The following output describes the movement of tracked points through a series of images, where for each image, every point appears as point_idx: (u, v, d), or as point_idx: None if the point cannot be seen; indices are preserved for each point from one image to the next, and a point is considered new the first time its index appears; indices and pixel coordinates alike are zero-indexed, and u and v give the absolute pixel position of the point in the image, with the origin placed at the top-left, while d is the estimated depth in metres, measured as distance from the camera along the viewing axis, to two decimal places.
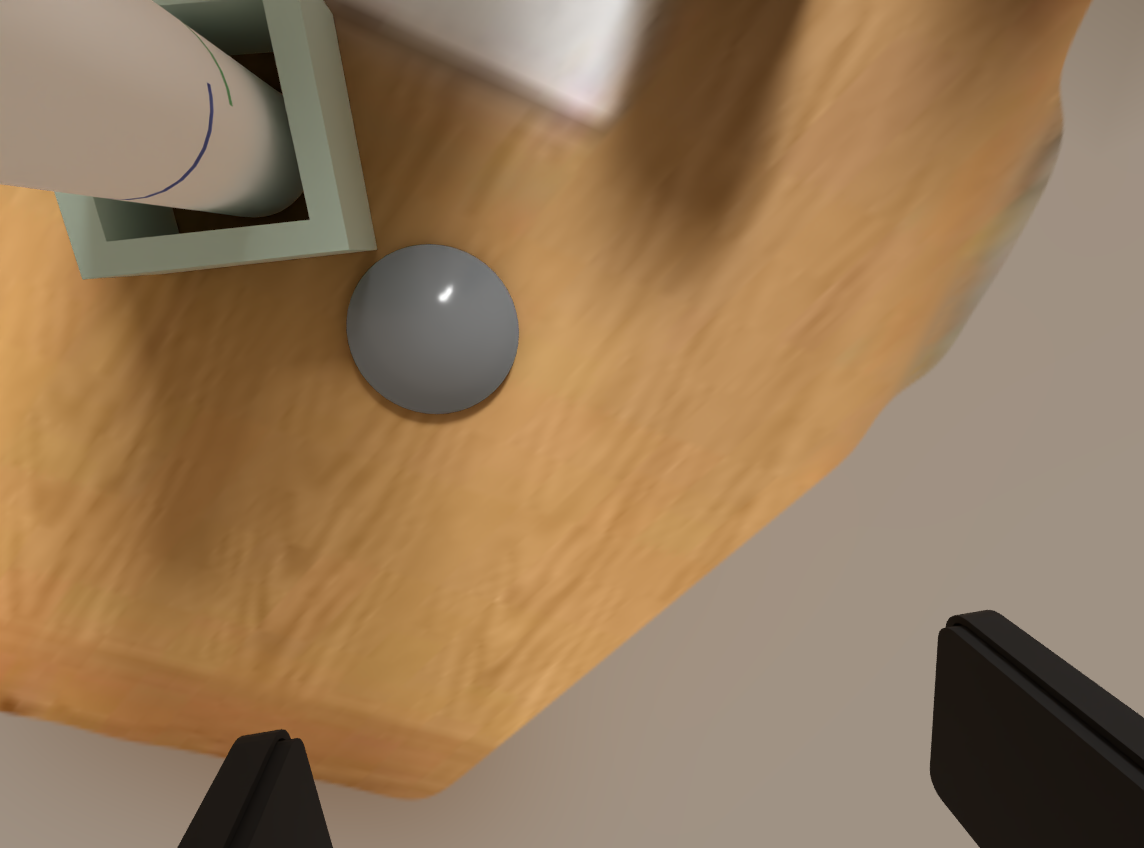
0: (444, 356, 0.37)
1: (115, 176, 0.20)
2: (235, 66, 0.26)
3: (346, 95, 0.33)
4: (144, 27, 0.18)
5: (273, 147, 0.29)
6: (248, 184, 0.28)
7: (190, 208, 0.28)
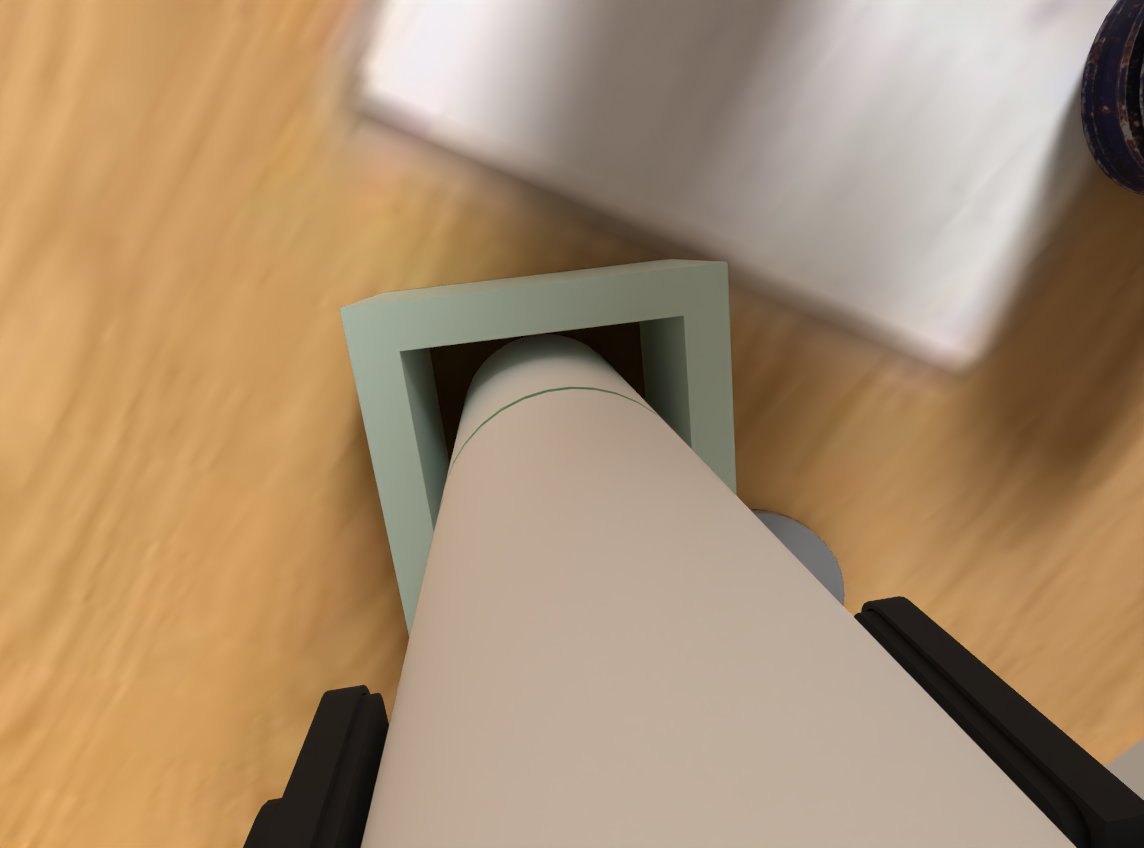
0: None
1: None
2: None
3: None
4: None
5: None
6: None
7: None
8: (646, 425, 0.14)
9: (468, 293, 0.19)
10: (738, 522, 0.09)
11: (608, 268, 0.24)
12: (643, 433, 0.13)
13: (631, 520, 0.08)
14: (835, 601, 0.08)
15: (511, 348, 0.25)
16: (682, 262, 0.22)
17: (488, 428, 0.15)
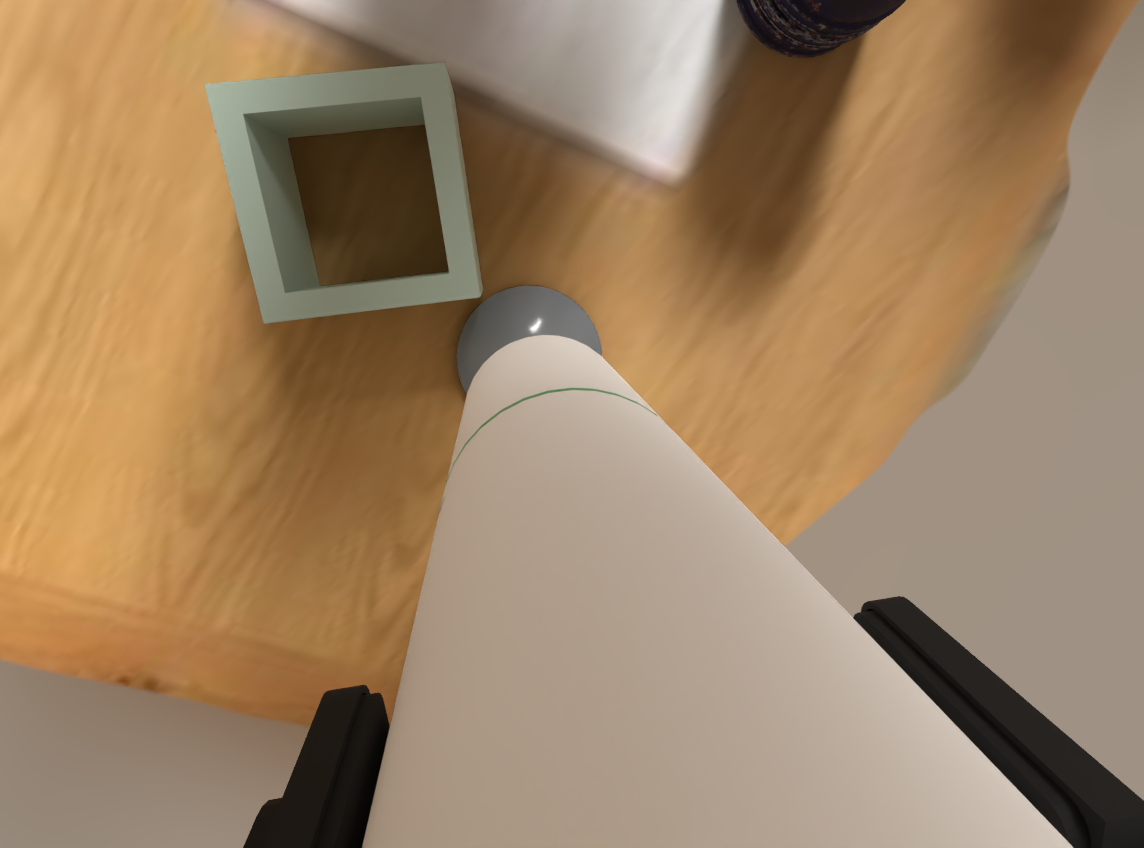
0: None
1: None
2: None
3: None
4: None
5: None
6: None
7: None
8: (647, 426, 0.13)
9: (283, 77, 0.32)
10: (739, 524, 0.09)
11: None
12: (644, 434, 0.13)
13: (632, 522, 0.08)
14: (836, 604, 0.08)
15: (511, 349, 0.25)
16: None
17: (488, 429, 0.15)
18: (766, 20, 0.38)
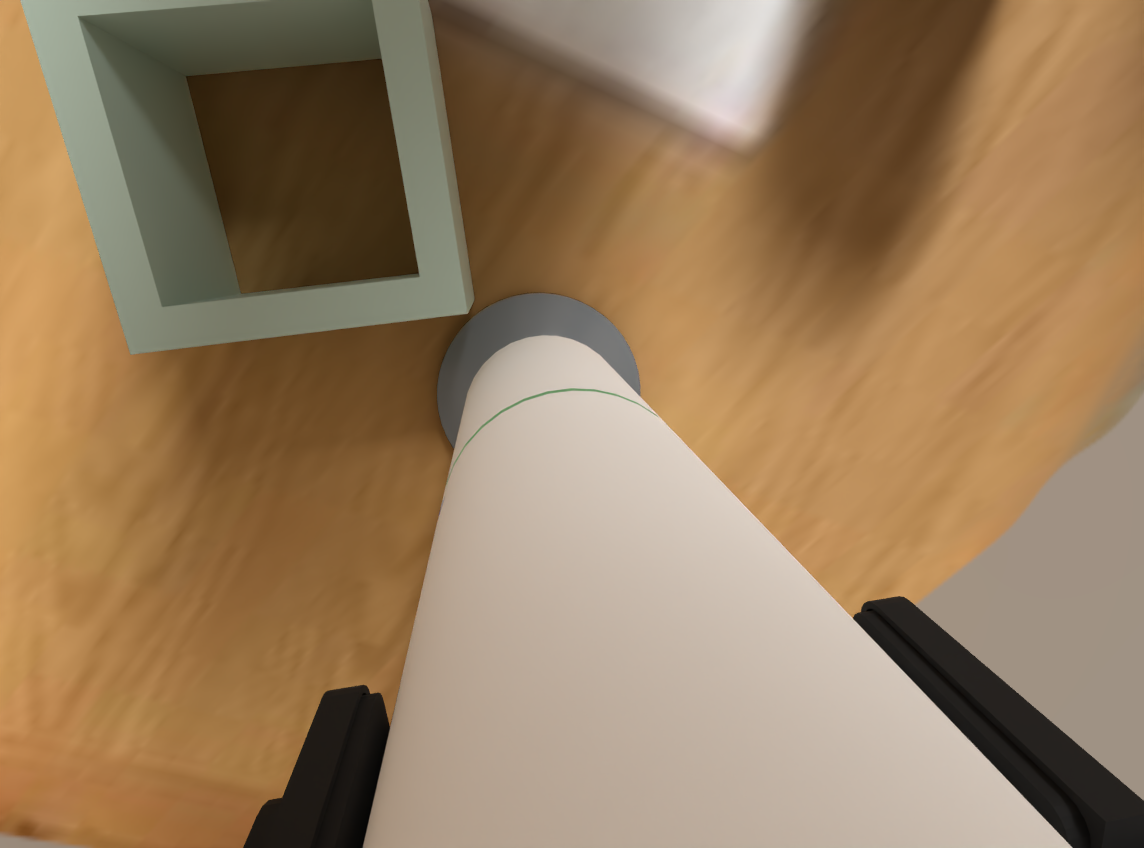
0: None
1: None
2: None
3: (446, 114, 0.27)
4: None
5: None
6: None
7: None
8: (647, 427, 0.13)
9: None
10: (739, 525, 0.09)
11: None
12: (644, 435, 0.13)
13: (632, 523, 0.08)
14: (836, 605, 0.08)
15: (511, 349, 0.25)
16: None
17: (489, 430, 0.15)
18: None
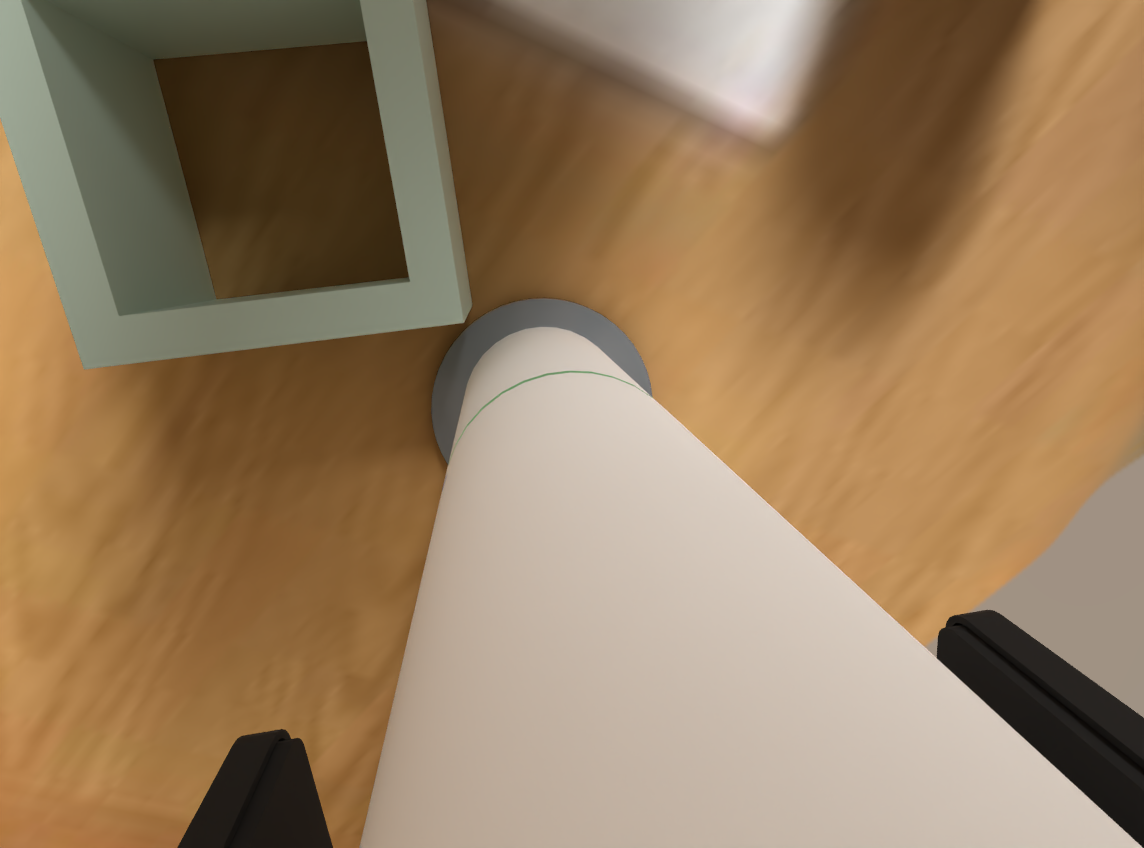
0: None
1: None
2: None
3: (441, 102, 0.25)
4: None
5: None
6: None
7: None
8: (642, 403, 0.14)
9: None
10: (728, 483, 0.10)
11: None
12: (639, 409, 0.13)
13: (627, 478, 0.09)
14: (818, 550, 0.08)
15: (511, 339, 0.25)
16: None
17: (490, 409, 0.16)
18: None
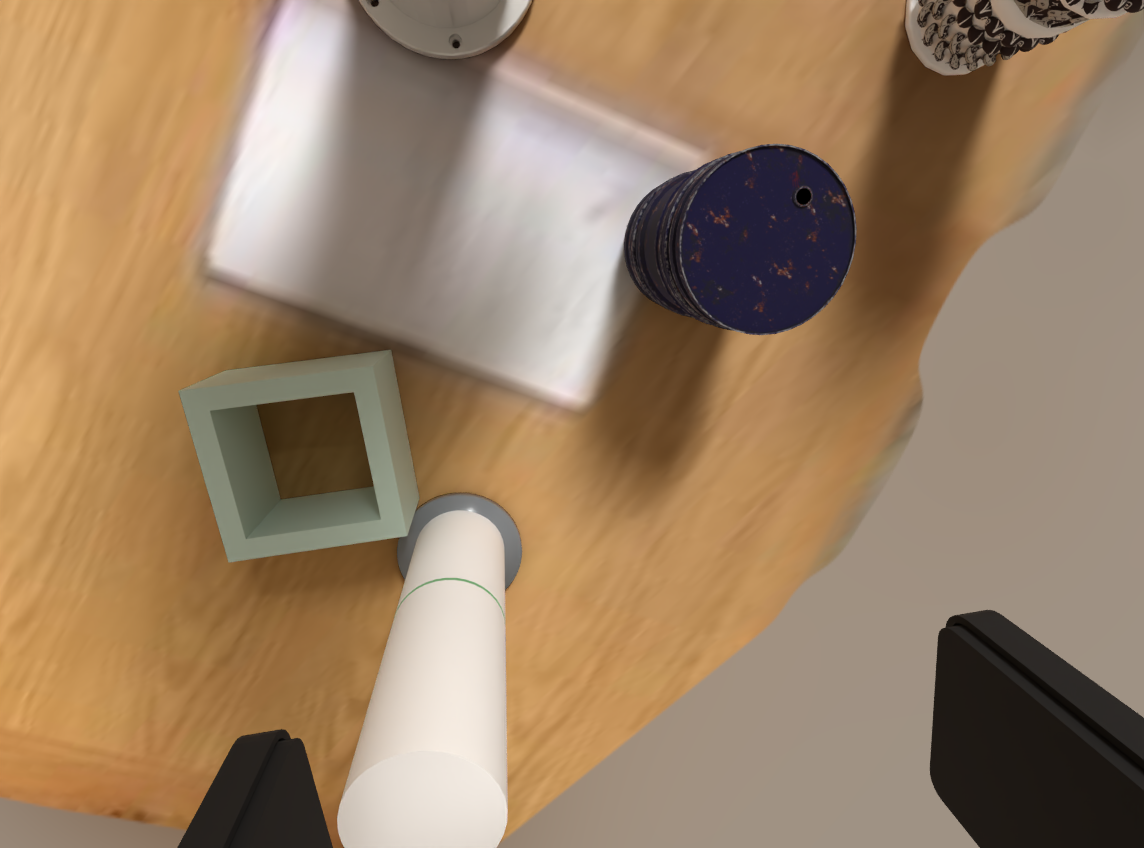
0: None
1: None
2: (494, 575, 0.43)
3: (400, 402, 0.47)
4: (502, 666, 0.35)
5: None
6: None
7: None
8: (464, 606, 0.37)
9: (242, 382, 0.39)
10: (464, 659, 0.32)
11: (344, 359, 0.44)
12: (458, 614, 0.36)
13: (429, 662, 0.31)
14: (478, 684, 0.31)
15: (437, 524, 0.48)
16: (371, 359, 0.43)
17: (409, 599, 0.38)
18: None
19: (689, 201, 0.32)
